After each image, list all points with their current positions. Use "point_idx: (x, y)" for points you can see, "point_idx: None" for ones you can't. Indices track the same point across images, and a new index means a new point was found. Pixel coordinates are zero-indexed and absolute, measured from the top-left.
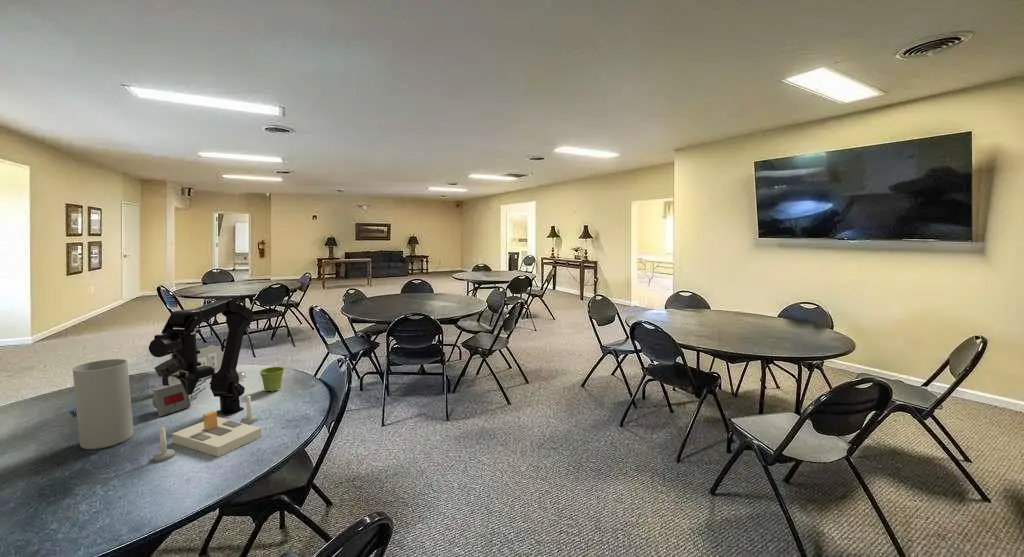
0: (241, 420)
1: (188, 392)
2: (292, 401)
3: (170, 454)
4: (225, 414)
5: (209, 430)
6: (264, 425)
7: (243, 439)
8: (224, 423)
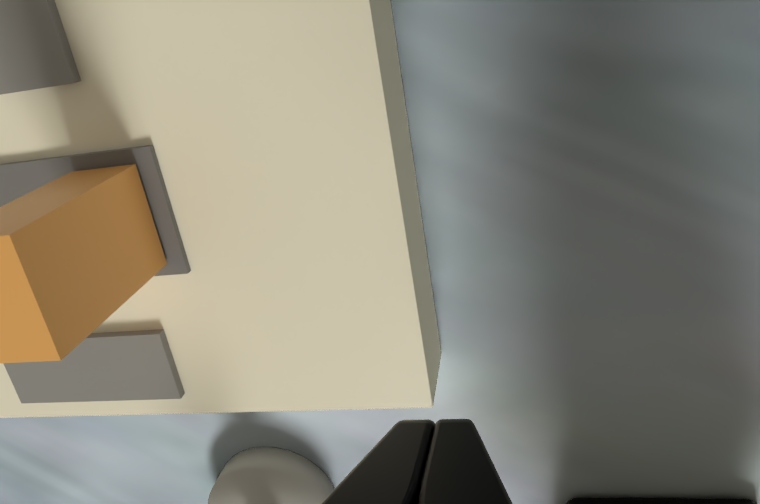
0: (275, 469)
1: (356, 473)
2: None
3: None
4: (595, 501)
5: None
6: (107, 490)
7: None
8: (144, 341)
